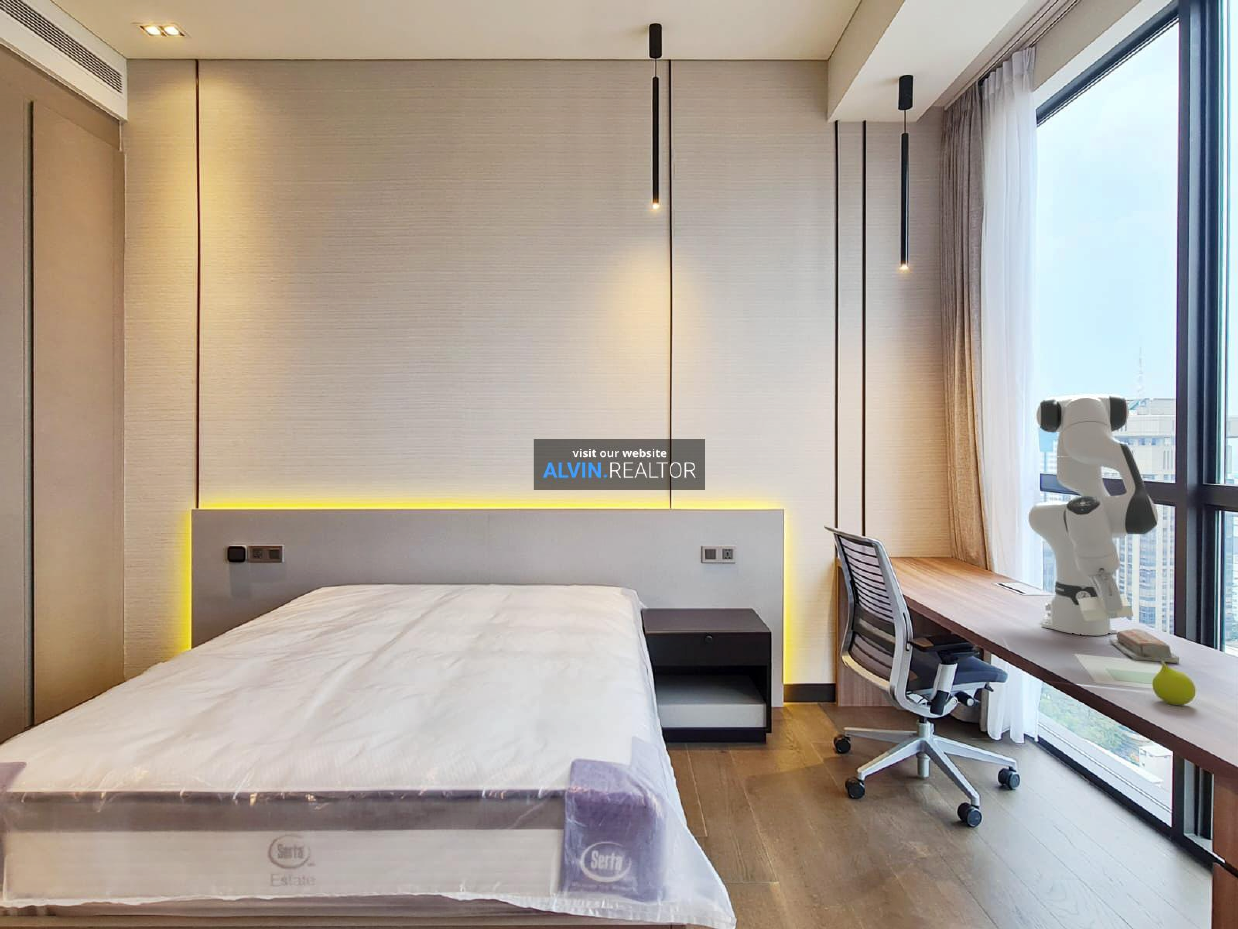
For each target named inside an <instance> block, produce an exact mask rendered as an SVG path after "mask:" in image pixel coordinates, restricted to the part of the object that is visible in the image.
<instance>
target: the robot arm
mask: <svg viewBox="0 0 1238 929" xmlns="http://www.w3.org/2000/svg"><path fill="white" fill-rule="evenodd" d="M1129 415H1130V408H1129V405H1128V403H1127V400H1126V399H1125V397H1124V396H1122V395H1119V394H1112V393H1108V394H1095V393H1094V394H1093V393H1092V394H1088V393H1087V394H1085V393H1084V394H1079V395H1069V396H1068V395H1067V396H1061V397H1060V396H1059V397H1056V396H1054V397H1048V398H1045V399H1043V400H1042V401H1041V402H1040V403H1039V406H1038V407H1037V411H1036V421H1037V423H1038V426H1039V428H1040V429H1041V430H1042V431H1044V432H1046V433H1055V434H1056V433H1058V438H1057V443H1056V444H1057V447H1056V481H1058V484H1059V485H1061V486H1062V487H1063V488H1066V489H1068V490H1070V491H1071V492H1072V491H1073V492H1074V493H1077V494H1078V495H1080V496H1078V497H1075V498H1073V499H1070V500H1069V501H1059V500H1053V501H1045V502H1039V503H1038V502H1037V503H1035V504H1034V505H1033V506H1032V508H1031V509H1030V511H1029V514H1028V523H1029V525H1030V527H1031V529H1032V531H1034V532H1035V533H1036V534H1037V535H1039V536H1040V537H1041V538H1043V539H1044V540H1045V541H1046V542H1047V544H1048V545H1049V547H1050V548H1051V550H1052V551H1053V554H1054V558H1055V564H1056V565H1055V566H1056V581H1055V585H1054V593H1055V595H1054V596H1053V598H1052V600H1050V602H1047V603H1045V611H1047V614H1045V615H1044V616H1043V620H1042V627H1043V628H1046V629H1051V630H1056V631H1059V632H1063V633H1068V634H1072V633H1074V635H1080V634H1081V635H1083V636H1105V635H1108V633H1110V634H1117V632H1118V629H1116V628H1115V627H1113V626H1111V620H1113V619H1118V618H1117V617H1118V616H1117V612H1119V611H1122V610H1123V604H1122V601H1121V597H1120V594H1121V593H1120V590H1119V587H1118V585H1117V582H1116V580H1115V578H1114V576H1113V575H1115V574H1116V572H1117V570H1118V569H1120V568H1121V563H1120V558H1119V555H1118V550H1117V547H1116V544H1115V542H1114V541H1113V540H1115V539H1121V538H1124V537H1127V535H1146V534H1148V533H1150V532H1151V531H1152V530H1153V529H1154V528H1156V526H1157V525H1158V521H1159V514H1158V509H1157V508H1156V505H1155V503H1154V501H1153V500H1152V499H1151V497H1150V496H1149V494H1148V492H1147V489H1146V485H1145V483H1144V480H1143V477H1142V475H1141V472H1140V470H1139V468H1138V465H1137V462H1136V459H1135V458H1134V456H1133V454H1132V451H1131V449H1130V447H1129V446H1128V445H1127V443H1125V442H1123V441H1119V440H1117V439H1116V437H1114V435H1113V433H1112V432H1115V431H1118V430H1120V429H1122V427H1124V426H1125V425H1126V423H1127V421H1128V418H1129ZM1102 467H1103V468H1109V469H1112V470H1115V471H1116V472H1118V473H1119V475H1120V477H1121V480H1122V482H1123V485H1124V487H1125V493H1124V494H1120V495H1111V494H1110V493H1109V492H1108V490H1107V488H1106V486H1105V483H1104V480H1103V472H1102ZM1090 597H1099V599H1100V601H1101V603H1102V605H1103V607H1104V609H1105V611H1106V612H1107V614H1108V617H1109V618H1110V619H1102V620H1092V621H1085V619H1084V617H1083V614H1082V612H1081V610H1080V606H1079V602H1078V599H1082V598H1090Z"/></svg>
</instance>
